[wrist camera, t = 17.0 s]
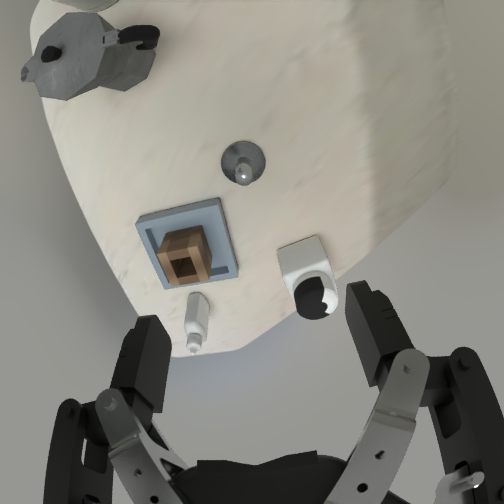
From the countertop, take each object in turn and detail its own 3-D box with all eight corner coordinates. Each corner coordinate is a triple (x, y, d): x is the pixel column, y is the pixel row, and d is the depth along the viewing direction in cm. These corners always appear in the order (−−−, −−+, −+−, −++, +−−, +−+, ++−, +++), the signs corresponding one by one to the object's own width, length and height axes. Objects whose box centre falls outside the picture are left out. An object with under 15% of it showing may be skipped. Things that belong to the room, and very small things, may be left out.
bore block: (165, 232, 42) (156, 254, 37) (201, 224, 41) (197, 246, 36) (178, 263, 45) (171, 286, 40) (212, 256, 45) (209, 280, 40)
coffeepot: (86, 101, 29) (1, 124, 15) (84, 43, 24) (0, 38, 9) (187, 82, 30) (142, 79, 15) (187, 20, 25) (145, -28, 10)
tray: (140, 216, 41) (134, 224, 38) (219, 197, 40) (217, 204, 37) (167, 280, 48) (164, 289, 46) (238, 267, 47) (238, 277, 45)
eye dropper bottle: (213, 294, 50) (209, 346, 40) (208, 314, 53) (204, 365, 43) (189, 289, 49) (180, 341, 39) (186, 310, 52) (178, 360, 42)
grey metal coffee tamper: (217, 146, 35) (212, 159, 30) (260, 137, 35) (265, 148, 29) (226, 185, 39) (224, 205, 33) (268, 177, 38) (273, 196, 32)
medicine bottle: (289, 279, 49) (301, 331, 39) (275, 249, 45) (286, 300, 35) (327, 265, 48) (347, 314, 38) (316, 233, 44) (338, 281, 34)
